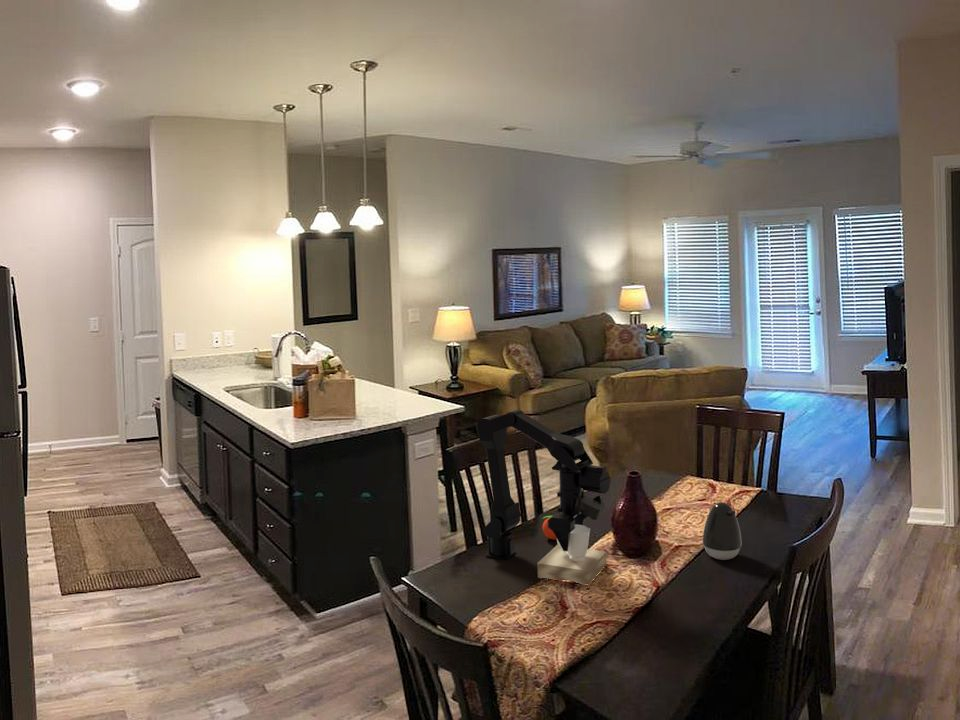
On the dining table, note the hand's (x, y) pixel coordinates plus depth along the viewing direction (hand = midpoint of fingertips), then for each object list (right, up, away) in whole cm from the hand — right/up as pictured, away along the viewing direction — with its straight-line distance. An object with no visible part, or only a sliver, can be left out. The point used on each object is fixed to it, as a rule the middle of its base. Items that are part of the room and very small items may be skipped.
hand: (571, 545), depth 209 cm
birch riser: (0, -7, +1) cm, 7 cm away
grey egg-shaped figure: (+42, -5, +8) cm, 43 cm away
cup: (0, -4, +1) cm, 4 cm away
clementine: (-3, -4, +26) cm, 26 cm away
